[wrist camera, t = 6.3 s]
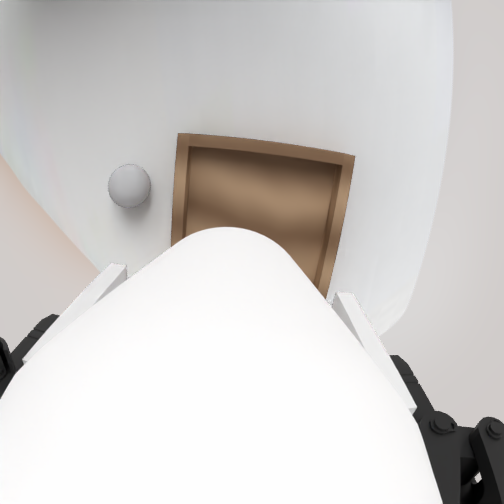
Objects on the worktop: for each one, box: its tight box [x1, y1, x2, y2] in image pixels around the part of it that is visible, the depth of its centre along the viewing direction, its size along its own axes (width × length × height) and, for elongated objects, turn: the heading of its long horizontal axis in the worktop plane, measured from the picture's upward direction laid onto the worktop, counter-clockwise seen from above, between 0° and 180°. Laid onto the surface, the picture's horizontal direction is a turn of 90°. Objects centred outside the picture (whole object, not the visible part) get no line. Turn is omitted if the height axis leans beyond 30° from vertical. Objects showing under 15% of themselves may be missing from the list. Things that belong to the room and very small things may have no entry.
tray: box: [171, 133, 355, 300], centre depth 29 cm, size 15×15×3 cm
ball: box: [108, 164, 150, 208], centre depth 27 cm, size 4×4×4 cm
